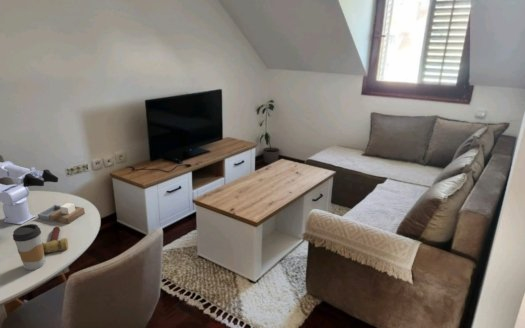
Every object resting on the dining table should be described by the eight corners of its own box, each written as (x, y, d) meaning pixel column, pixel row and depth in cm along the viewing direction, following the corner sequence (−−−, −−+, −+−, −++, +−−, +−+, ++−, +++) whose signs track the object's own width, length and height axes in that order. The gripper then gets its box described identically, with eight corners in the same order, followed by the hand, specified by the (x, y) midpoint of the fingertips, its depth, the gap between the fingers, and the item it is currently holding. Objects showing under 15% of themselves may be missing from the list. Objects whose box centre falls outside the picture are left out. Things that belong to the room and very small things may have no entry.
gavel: (42, 224, 148) (69, 219, 152) (45, 233, 149) (71, 228, 153) (35, 246, 130) (65, 240, 134) (37, 257, 131) (67, 251, 135)
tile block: (61, 213, 157) (60, 206, 156) (68, 209, 160) (67, 202, 159) (68, 214, 156) (67, 207, 155) (75, 210, 160) (74, 204, 158)
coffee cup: (38, 256, 131) (29, 221, 126) (53, 261, 128) (45, 226, 123) (16, 268, 124) (5, 232, 119) (32, 274, 121) (22, 238, 116)
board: (50, 220, 156) (48, 215, 155) (67, 210, 165) (66, 205, 164) (68, 223, 154) (67, 218, 153) (84, 213, 163) (83, 207, 162)
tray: (38, 218, 158) (37, 214, 157) (56, 208, 167) (55, 204, 166) (49, 220, 156) (48, 216, 155) (66, 210, 165) (65, 206, 164)
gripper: (8, 168, 140) (37, 175, 138) (37, 162, 154) (64, 169, 152) (7, 184, 141) (36, 192, 139) (36, 177, 155) (62, 184, 153)
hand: (50, 181), depth 146 cm, fingers open, 7 cm apart
